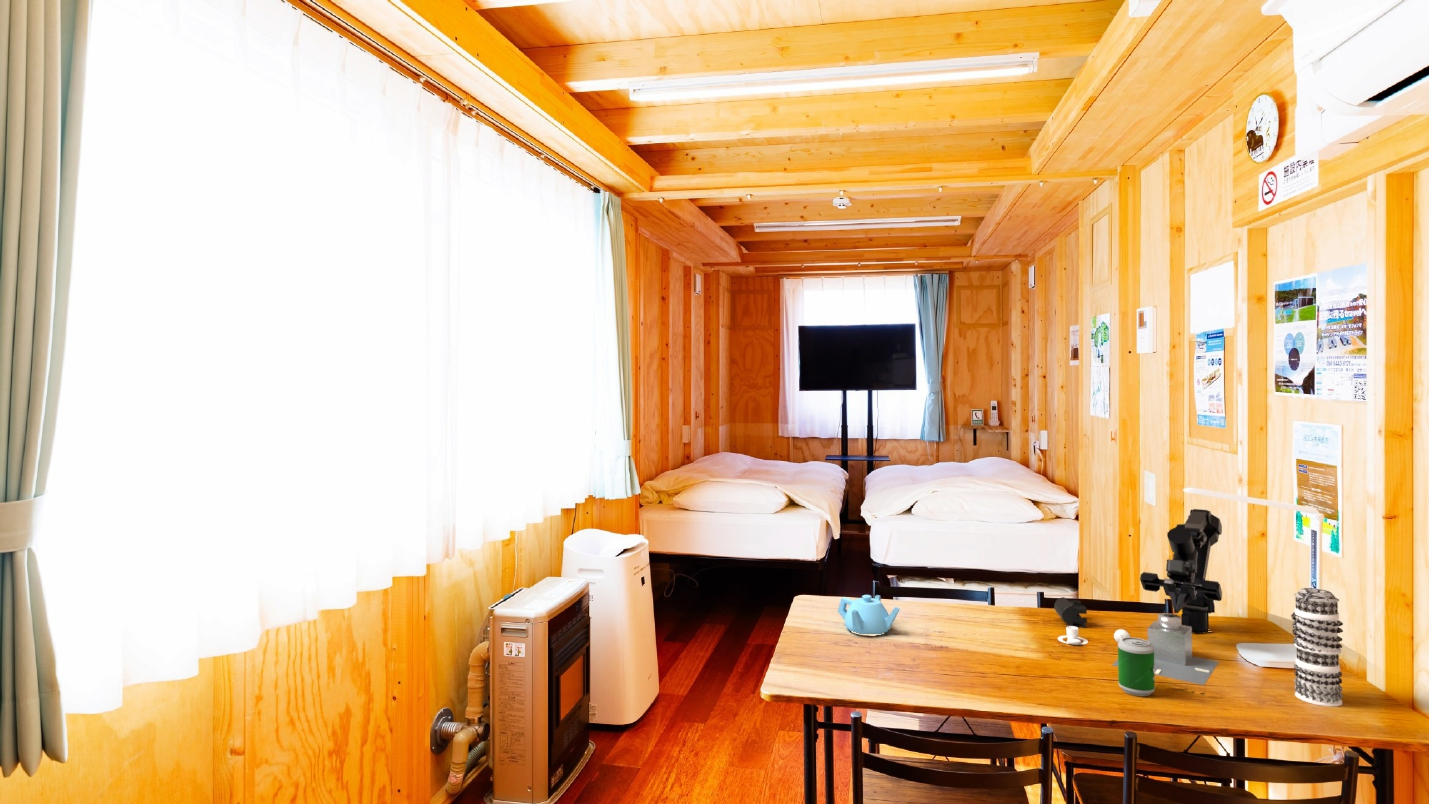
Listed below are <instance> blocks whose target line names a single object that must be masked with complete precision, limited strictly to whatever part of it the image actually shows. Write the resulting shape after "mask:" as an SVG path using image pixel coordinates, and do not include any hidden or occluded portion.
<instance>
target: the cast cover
mask: <svg viewBox="0 0 1429 804" xmlns="http://www.w3.org/2000/svg"><path fill="white" fill-rule="evenodd" d="M1192 635H1193V633H1192V627H1190V626H1185V625H1182V624H1181V616H1180V615H1177V614H1176V613H1169V612H1166V613H1165V612H1162V613H1161V612H1160V613H1158V614H1157V620H1154V621H1153V622H1152V623H1151V624H1150V625H1149V626H1148V627H1147V641H1148V642H1149V643H1150V644H1151V645H1152V646H1153V648H1154V659H1155V660H1159V661H1164V662H1169V663H1174V664H1179V665H1184V666H1186V664H1187V663H1188V662H1189V660H1190V659H1191V658H1192V656H1193V638H1192V637H1193V636H1192Z"/></svg>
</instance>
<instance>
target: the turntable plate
mask: <svg viewBox="0 0 1429 804" xmlns="http://www.w3.org/2000/svg"><path fill="white" fill-rule="evenodd" d="M1127 637H1131V634H1130V633H1129V632H1128V631H1127V630H1125V629H1123V628H1122V629H1121V628H1119V629H1117V630H1115V632H1114V634H1113V638H1114V640H1115V641H1116V643H1118V642H1119V641H1121V640H1122V639H1123V638H1127ZM1218 664H1219V660H1213V659H1207V658H1203V657H1202V658H1201V657H1198V656H1197V657H1196V656H1193V655H1192V658H1191V659H1190V660H1189V662H1188V663H1187V664H1186V666H1184V665H1179V664H1174V663H1169V662H1164V661H1159V660H1155V659H1154V671H1155V676H1159V677H1165V678H1169V679H1173V680H1177V681H1181V682H1182V681H1183V682H1187V683H1191V684H1192V683H1193V684H1197V685H1199V686H1200V685H1201V686H1204V685H1205V684H1206V683H1207V681H1208V679H1209V678H1210V676H1211V675H1212V673H1213V671H1214V670H1215V668H1216V667H1217V665H1218ZM1111 666H1114V667H1117V668H1118V659H1116V661H1115V662H1113V664H1111Z"/></svg>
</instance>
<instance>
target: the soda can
mask: <svg viewBox="0 0 1429 804" xmlns="http://www.w3.org/2000/svg"><path fill="white" fill-rule="evenodd" d="M1117 660H1118V667H1117V669H1118V671H1117V674H1118V676H1117V677H1118V678H1117V679H1118V685H1119V687H1120V688H1121V689H1122V691H1123V692H1125V693H1126V694H1129V695H1131V696H1137V697H1148V696H1150V695H1151V694H1152V693H1154V692H1155V690H1156V689H1155V688H1156V684H1155V683H1156V682H1155V681H1156V680H1155V679H1156V677H1155V676H1156V675H1155V671H1154V648H1153V646H1152V645H1151V644H1150V643H1149V642H1148V640H1146V639H1143V638H1139V637H1131V636H1130V637H1127V638H1123V639H1122V640H1121V641H1119V642H1117Z"/></svg>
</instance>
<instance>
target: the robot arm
mask: <svg viewBox="0 0 1429 804" xmlns="http://www.w3.org/2000/svg"><path fill="white" fill-rule="evenodd" d="M1222 530H1223V525H1222V522H1221V520H1220V518H1219V517H1217V516H1215V515H1214V514H1213V513H1211V510H1208V509H1202V508H1201V509H1198V508H1193V509H1190V511H1189V515H1188V517H1187V518H1186V521H1185V522H1184V523H1180V524H1178V523H1177V524H1176V526H1175V527H1173V528H1170V530H1169V531H1167V535H1166V536H1167V540H1168V543H1169V546H1170V549H1171V552H1172V559H1169V558H1168V559H1166V564H1165V565H1166V568H1165V571H1166V578H1165V577H1164V579H1163V578H1159V575H1158V573H1155V572H1154V573H1153V572H1147V571H1143V572H1142V573H1140V576H1139V577H1140V578H1139V581H1140V583H1141V586H1142V588H1143V590H1144V591H1146V592H1147V591H1149V592H1154V593H1157V592H1158V591H1160V590H1161V588H1163V590H1164V595H1165V596H1168V597H1170V601H1171V604H1172V609H1173V612H1174V613H1173V614H1179V613H1180V612H1181V614H1180V615H1181V616H1180V617H1181V625H1185V626H1190V627H1192V632H1194V633H1193V634H1195V633H1200V634H1204V633H1203V632H1208V631H1213V632H1214V629H1212V628H1209V627H1210V625H1209V620H1210V619H1209V615H1210V614H1215V612H1216V611H1215V610H1216V608H1215V602H1216V601H1217V602H1220V601H1222V599H1223V591H1222V587H1221V584H1220V582H1219V581H1215V580H1210V579H1209V580H1207V578H1206V577H1207V571H1208V565H1209V561H1210V555H1211V554H1210V552H1211V549H1212V548H1211V547H1212V546H1213V545H1215V544H1216V543H1218V542H1219V537H1220V535H1222V533H1223V531H1222ZM1208 629H1209V630H1208Z"/></svg>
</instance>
